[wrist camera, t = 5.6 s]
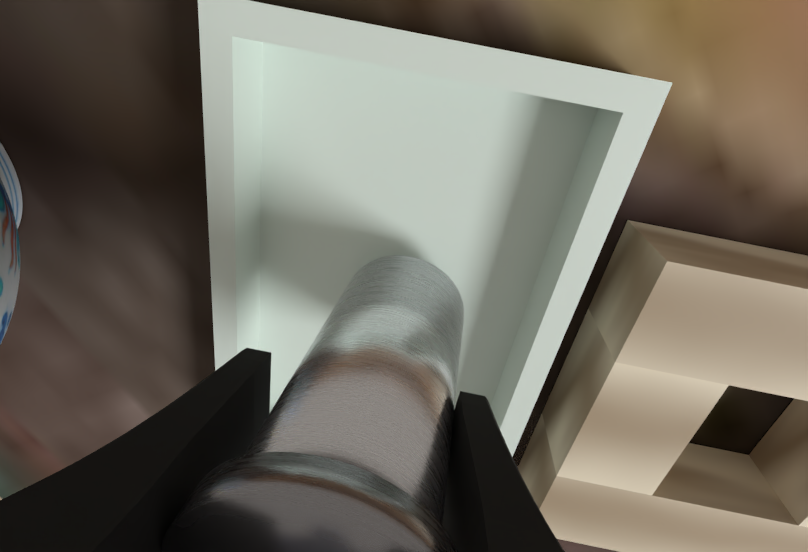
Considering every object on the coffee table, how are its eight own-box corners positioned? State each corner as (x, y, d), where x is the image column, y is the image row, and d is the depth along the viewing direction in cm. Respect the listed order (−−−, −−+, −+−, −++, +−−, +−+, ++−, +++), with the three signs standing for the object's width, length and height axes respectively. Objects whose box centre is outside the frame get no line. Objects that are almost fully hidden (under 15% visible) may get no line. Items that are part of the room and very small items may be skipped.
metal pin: (459, 382, 16) (427, 709, 8) (328, 350, 16) (176, 632, 8) (493, 262, 13) (495, 558, 6) (339, 228, 14) (143, 462, 6)
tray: (485, 460, 20) (488, 512, 18) (245, 411, 20) (219, 457, 18) (633, 75, 12) (672, 82, 10) (243, -1, 12) (196, -10, 10)
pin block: (782, 521, 20) (833, 595, 17) (517, 467, 20) (527, 532, 17) (1002, 294, 14) (1130, 353, 11) (627, 220, 14) (667, 260, 11)
